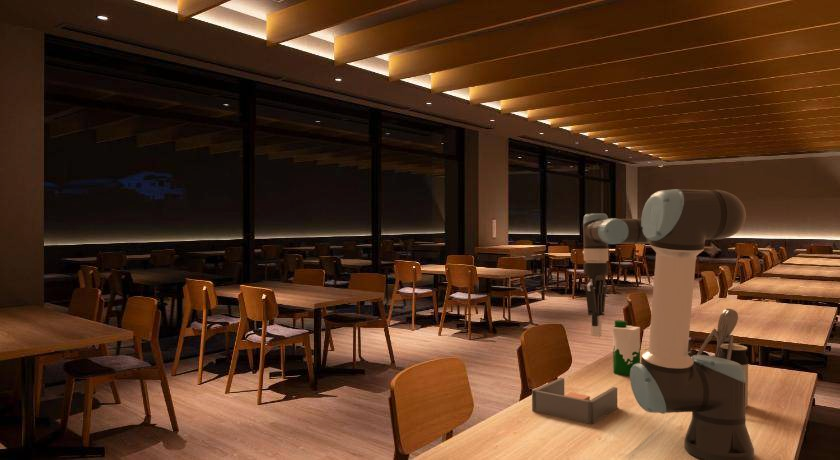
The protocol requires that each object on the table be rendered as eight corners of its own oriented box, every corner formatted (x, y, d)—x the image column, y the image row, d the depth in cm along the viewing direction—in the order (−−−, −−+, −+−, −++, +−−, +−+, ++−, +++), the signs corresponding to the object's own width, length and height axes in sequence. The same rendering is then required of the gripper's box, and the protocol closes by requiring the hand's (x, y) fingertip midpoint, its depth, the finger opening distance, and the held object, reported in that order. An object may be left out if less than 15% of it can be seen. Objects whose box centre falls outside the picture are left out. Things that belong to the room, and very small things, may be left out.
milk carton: (618, 371, 213) (617, 319, 213) (642, 375, 208) (642, 321, 208) (610, 376, 206) (610, 322, 206) (635, 380, 201) (635, 324, 201)
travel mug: (745, 410, 166) (745, 350, 166) (715, 405, 171) (716, 346, 171) (749, 404, 172) (750, 346, 172) (720, 399, 177) (721, 342, 177)
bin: (591, 424, 155) (591, 402, 155) (532, 410, 167) (532, 390, 167) (617, 407, 170) (617, 387, 170) (560, 396, 181) (560, 377, 181)
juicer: (677, 393, 173) (711, 301, 172) (700, 399, 178) (732, 310, 177) (705, 407, 164) (740, 311, 163) (728, 413, 169) (762, 319, 168)
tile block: (580, 414, 164) (580, 400, 164) (561, 409, 168) (561, 396, 168) (589, 409, 168) (589, 396, 168) (571, 405, 172) (571, 392, 172)
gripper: (592, 261, 186) (593, 332, 186) (576, 262, 176) (576, 337, 176) (614, 261, 182) (615, 334, 181) (599, 263, 171) (600, 340, 171)
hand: (596, 336), depth 179 cm, fingers closed
